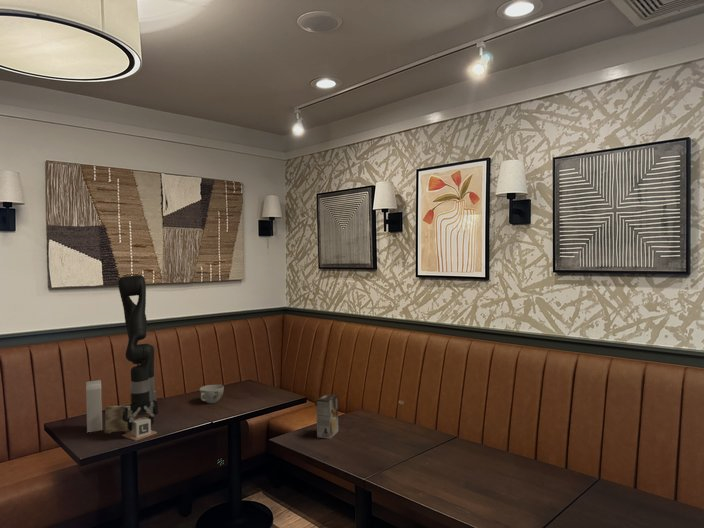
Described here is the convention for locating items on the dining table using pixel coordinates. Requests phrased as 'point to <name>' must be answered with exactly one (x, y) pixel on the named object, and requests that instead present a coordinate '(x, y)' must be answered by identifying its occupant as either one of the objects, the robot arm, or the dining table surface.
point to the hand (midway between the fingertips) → (140, 427)
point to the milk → (94, 406)
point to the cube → (141, 427)
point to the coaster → (138, 437)
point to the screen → (115, 419)
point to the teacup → (211, 393)
